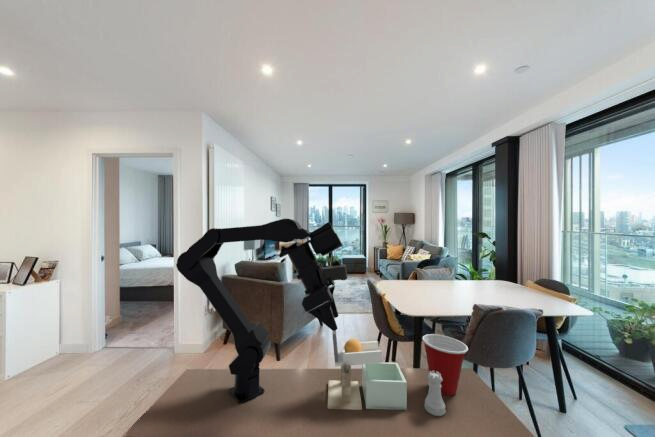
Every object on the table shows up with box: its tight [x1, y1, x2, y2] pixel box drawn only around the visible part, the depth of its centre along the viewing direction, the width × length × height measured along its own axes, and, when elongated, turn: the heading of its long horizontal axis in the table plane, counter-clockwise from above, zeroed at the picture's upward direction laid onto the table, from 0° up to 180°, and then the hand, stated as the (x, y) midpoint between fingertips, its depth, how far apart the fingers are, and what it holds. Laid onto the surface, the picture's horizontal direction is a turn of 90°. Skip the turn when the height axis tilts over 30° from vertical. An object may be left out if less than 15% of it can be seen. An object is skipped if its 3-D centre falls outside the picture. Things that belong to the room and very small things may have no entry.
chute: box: [331, 330, 384, 367], centre depth 65 cm, size 11×6×7 cm, turn 89°
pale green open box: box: [361, 361, 408, 411], centre depth 64 cm, size 9×9×6 cm
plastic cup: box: [422, 333, 469, 396], centre depth 68 cm, size 11×11×12 cm
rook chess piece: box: [424, 370, 446, 417], centre depth 60 cm, size 4×4×8 cm
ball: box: [345, 338, 361, 353], centre depth 65 cm, size 4×4×4 cm
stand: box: [327, 350, 363, 411], centre depth 65 cm, size 8×10×9 cm
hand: (336, 323), depth 65 cm, fingers open, 9 cm apart
